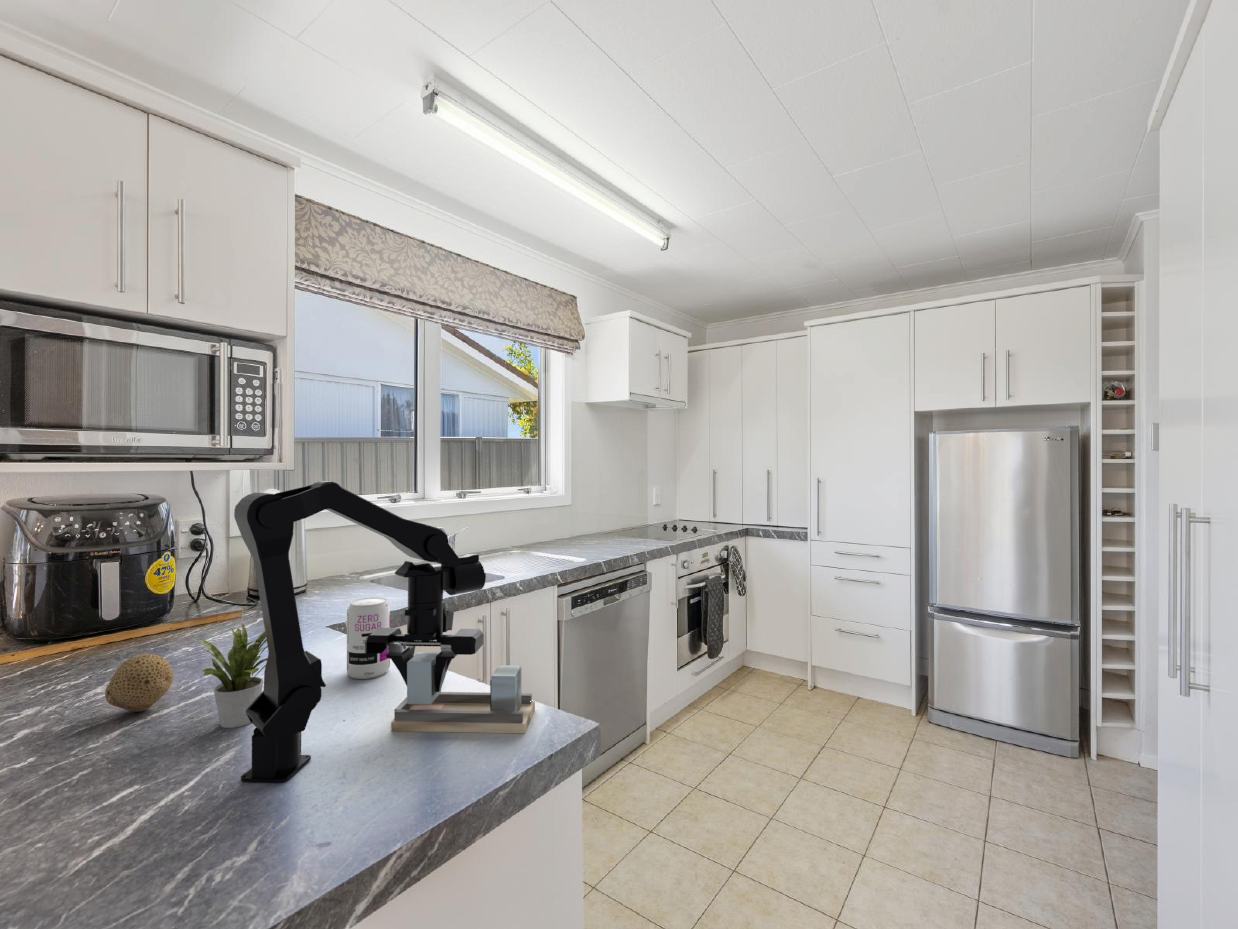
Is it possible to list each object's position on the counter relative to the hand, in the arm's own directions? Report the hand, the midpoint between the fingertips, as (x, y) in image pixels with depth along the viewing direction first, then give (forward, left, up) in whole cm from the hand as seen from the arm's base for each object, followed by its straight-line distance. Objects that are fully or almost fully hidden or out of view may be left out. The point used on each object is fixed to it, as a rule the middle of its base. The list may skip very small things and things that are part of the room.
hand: (425, 691), depth 98 cm
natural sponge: (+1, +51, -5) cm, 51 cm away
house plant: (-2, +30, -5) cm, 30 cm away
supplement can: (+21, +20, -5) cm, 29 cm away
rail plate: (0, -7, -5) cm, 8 cm away
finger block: (0, 0, -1) cm, 1 cm away
